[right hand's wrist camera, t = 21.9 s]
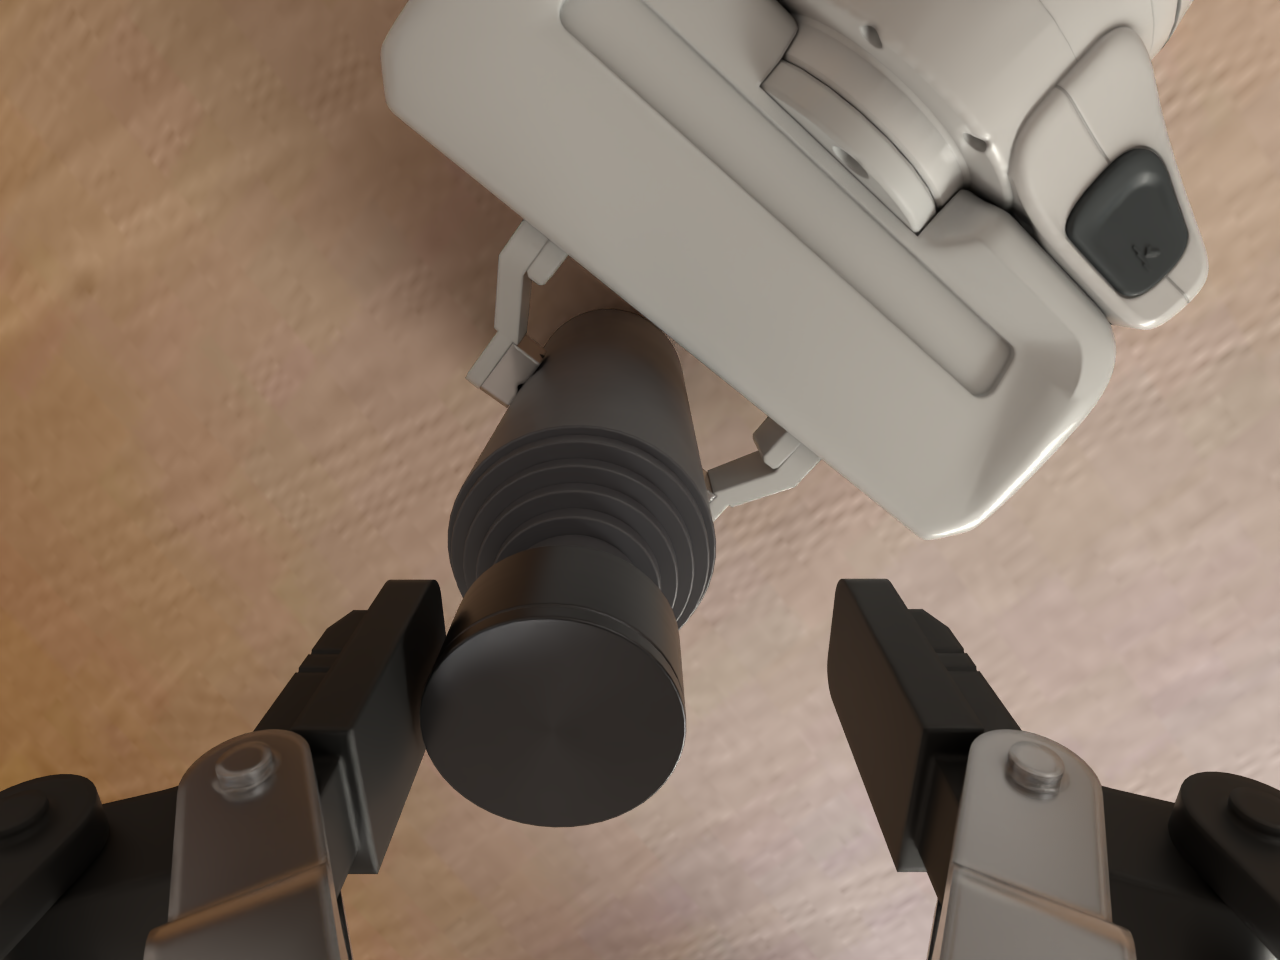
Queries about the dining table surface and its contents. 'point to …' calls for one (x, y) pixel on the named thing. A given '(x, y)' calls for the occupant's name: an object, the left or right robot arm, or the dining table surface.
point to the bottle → (595, 463)
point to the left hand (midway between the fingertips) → (584, 458)
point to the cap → (558, 689)
